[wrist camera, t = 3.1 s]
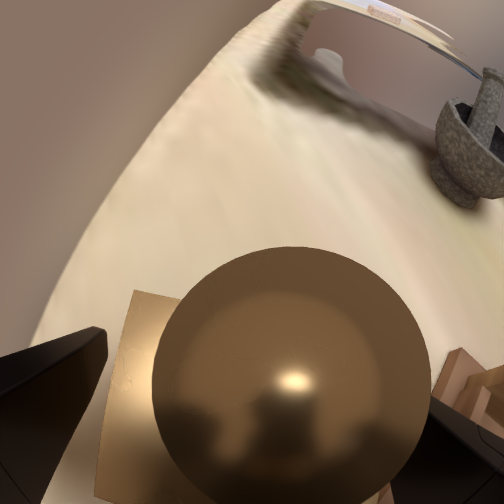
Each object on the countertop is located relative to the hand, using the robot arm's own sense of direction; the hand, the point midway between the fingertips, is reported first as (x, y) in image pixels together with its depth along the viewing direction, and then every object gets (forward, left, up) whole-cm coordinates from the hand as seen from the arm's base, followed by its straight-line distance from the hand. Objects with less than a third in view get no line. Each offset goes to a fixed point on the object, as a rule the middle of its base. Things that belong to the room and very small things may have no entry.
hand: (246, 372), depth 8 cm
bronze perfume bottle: (-1, 0, -7) cm, 7 cm away
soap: (+94, +2, -7) cm, 94 cm away
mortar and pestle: (+25, -11, -7) cm, 28 cm away
